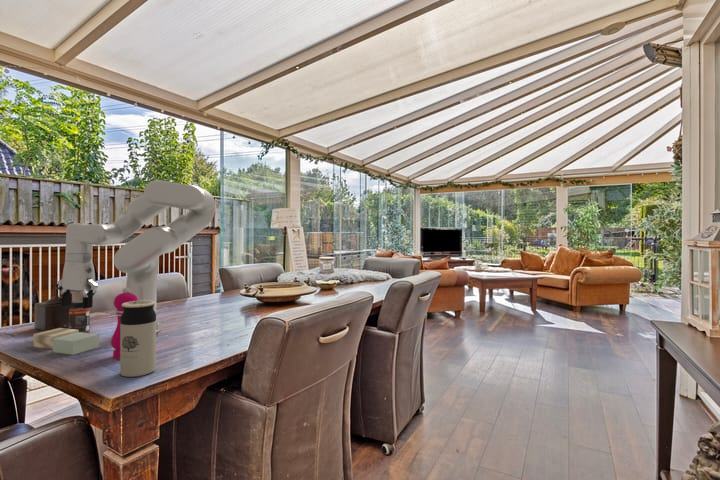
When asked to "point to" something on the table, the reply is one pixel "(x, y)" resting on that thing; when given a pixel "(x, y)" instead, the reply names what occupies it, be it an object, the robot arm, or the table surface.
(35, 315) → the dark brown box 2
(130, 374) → the travel mug
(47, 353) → the table surface
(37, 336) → the maple block
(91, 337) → the green block
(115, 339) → the pepper mill
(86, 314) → the supplement bottle
